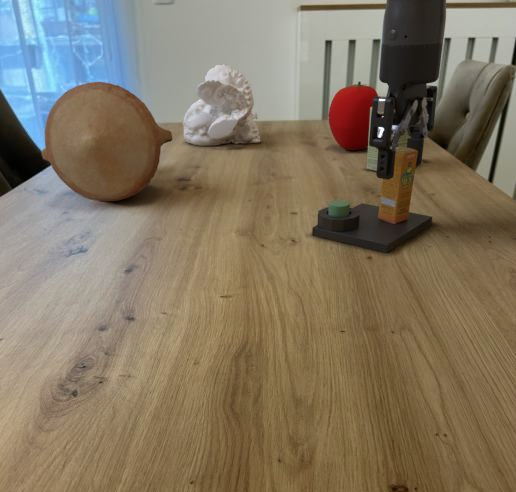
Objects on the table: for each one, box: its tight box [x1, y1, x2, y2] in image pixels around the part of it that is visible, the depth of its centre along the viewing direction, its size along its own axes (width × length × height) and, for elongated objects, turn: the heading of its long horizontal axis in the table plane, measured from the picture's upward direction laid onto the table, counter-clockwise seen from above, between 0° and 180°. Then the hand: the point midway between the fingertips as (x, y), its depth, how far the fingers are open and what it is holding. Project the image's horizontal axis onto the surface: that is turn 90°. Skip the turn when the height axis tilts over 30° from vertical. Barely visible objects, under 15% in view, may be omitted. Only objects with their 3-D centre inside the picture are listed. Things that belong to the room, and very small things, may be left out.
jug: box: [41, 81, 173, 202], centre depth 100 cm, size 20×19×30 cm
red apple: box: [328, 81, 379, 151], centre depth 124 cm, size 13×11×14 cm
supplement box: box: [378, 146, 418, 224], centre depth 78 cm, size 3×3×10 cm
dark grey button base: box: [311, 202, 433, 254], centre depth 80 cm, size 14×12×3 cm
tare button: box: [328, 199, 351, 217], centre depth 79 cm, size 3×3×2 cm
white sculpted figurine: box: [181, 63, 262, 147], centre depth 136 cm, size 19×20×20 cm
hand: (399, 171), depth 77 cm, fingers open, 8 cm apart
